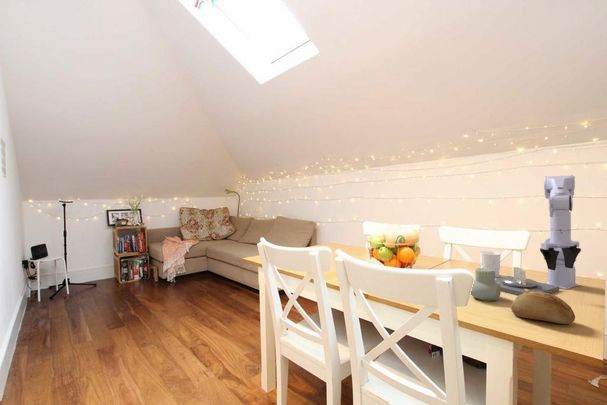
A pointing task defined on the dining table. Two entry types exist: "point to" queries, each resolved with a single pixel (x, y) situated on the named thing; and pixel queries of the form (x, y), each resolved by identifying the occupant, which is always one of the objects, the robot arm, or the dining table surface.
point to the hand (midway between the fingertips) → (560, 268)
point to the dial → (519, 280)
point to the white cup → (490, 261)
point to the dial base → (518, 291)
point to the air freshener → (485, 285)
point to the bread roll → (542, 307)
